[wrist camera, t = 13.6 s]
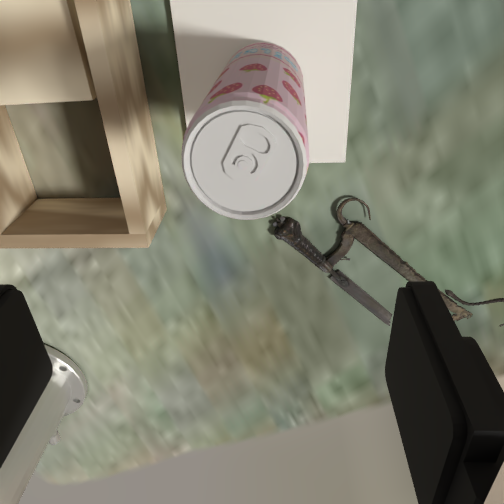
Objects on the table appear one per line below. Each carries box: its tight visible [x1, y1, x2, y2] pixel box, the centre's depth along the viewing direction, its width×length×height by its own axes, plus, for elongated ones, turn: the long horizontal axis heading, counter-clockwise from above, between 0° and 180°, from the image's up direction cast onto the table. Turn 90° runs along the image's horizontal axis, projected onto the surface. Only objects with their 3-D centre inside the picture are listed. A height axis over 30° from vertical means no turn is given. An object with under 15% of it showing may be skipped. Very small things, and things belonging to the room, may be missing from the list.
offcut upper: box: [0, 0, 97, 105], centre depth 28 cm, size 6×8×2 cm
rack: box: [0, 0, 167, 248], centre depth 30 cm, size 19×12×6 cm, turn 3°
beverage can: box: [182, 42, 310, 220], centre depth 25 cm, size 6×6×15 cm
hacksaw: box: [273, 198, 504, 327], centre depth 39 cm, size 24×10×2 cm, turn 48°
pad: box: [170, 0, 357, 163], centre depth 31 cm, size 12×12×1 cm
